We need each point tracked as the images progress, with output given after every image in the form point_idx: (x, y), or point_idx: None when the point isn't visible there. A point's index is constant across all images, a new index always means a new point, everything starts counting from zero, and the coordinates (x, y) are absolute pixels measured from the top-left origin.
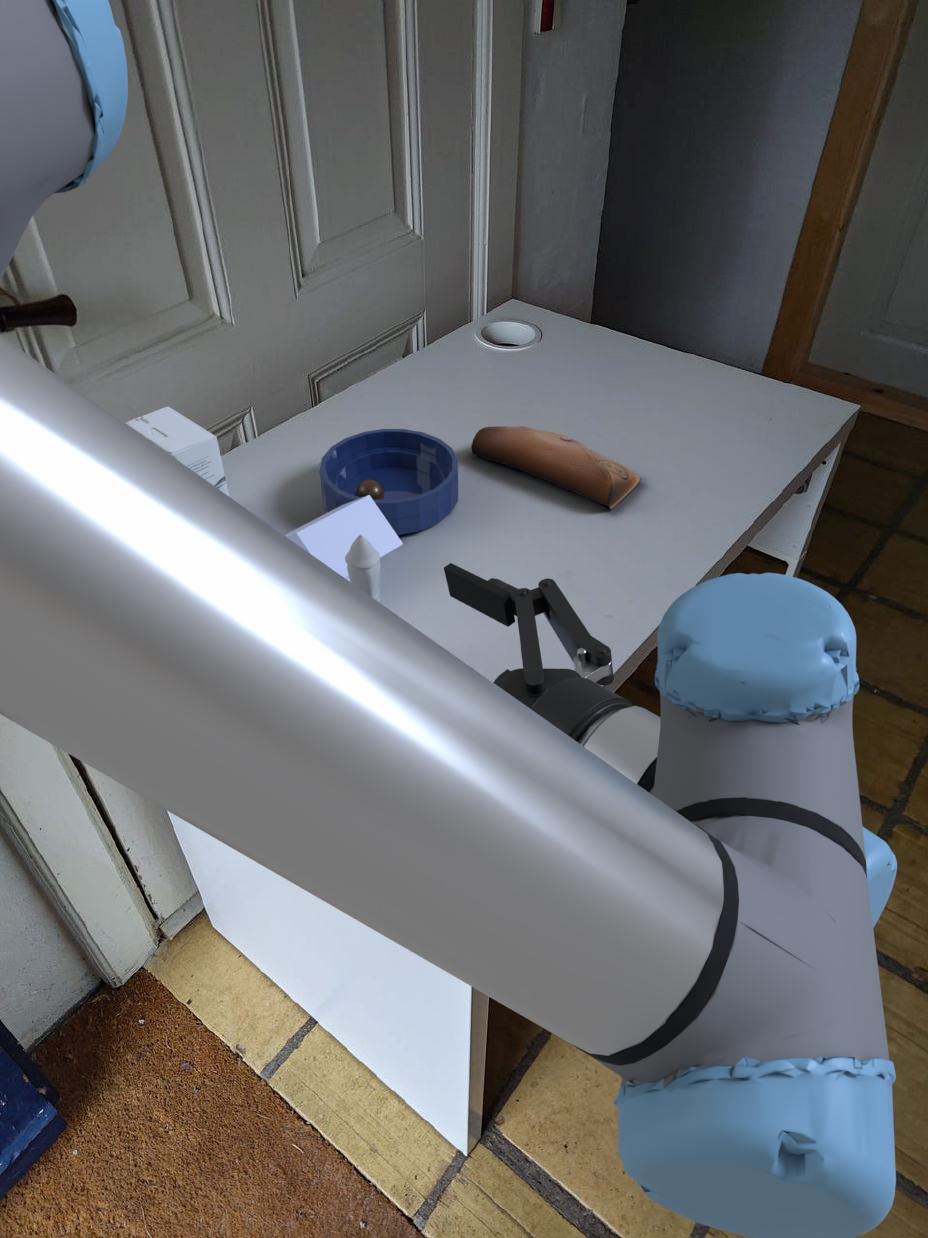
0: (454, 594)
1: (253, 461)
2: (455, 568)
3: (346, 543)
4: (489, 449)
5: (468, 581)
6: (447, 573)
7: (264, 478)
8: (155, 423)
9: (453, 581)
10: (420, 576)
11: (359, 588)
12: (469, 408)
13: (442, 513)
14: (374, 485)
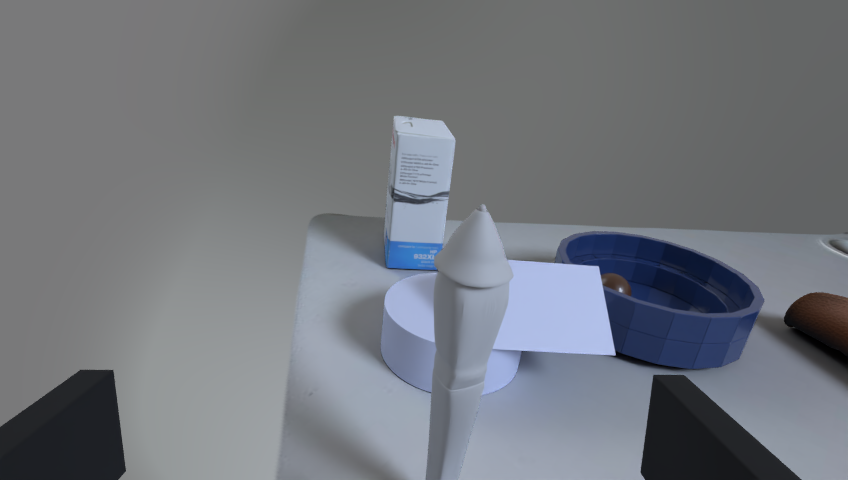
0: (654, 475)
1: (514, 233)
2: (692, 394)
3: (525, 306)
4: (818, 322)
5: (726, 455)
6: (658, 397)
7: (512, 246)
8: (415, 121)
9: (667, 431)
10: (622, 423)
11: (439, 331)
12: (793, 285)
13: (705, 358)
14: (620, 281)
